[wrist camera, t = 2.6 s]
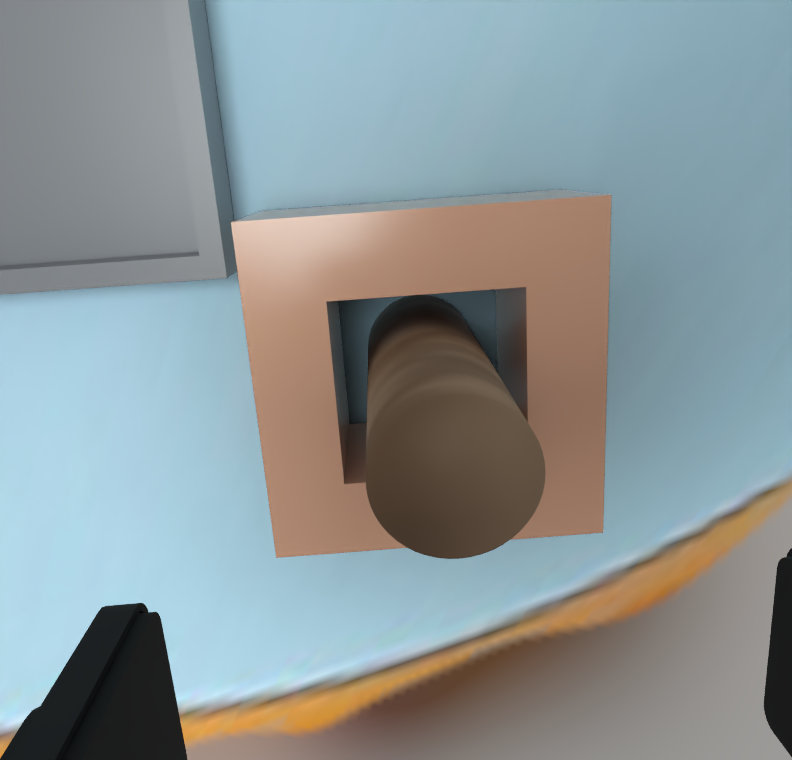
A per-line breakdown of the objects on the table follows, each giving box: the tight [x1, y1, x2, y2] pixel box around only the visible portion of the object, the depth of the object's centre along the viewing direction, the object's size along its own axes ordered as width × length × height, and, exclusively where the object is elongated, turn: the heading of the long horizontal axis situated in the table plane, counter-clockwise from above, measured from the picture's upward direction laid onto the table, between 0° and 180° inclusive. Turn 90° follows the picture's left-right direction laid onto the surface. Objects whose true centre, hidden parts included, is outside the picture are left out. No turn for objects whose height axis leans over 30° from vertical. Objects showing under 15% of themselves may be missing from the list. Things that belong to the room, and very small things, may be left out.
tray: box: [0, 0, 237, 294], centre depth 22 cm, size 13×13×2 cm
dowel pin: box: [366, 295, 546, 559], centre depth 21 cm, size 4×4×12 cm
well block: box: [231, 189, 611, 558], centre depth 24 cm, size 11×11×6 cm
